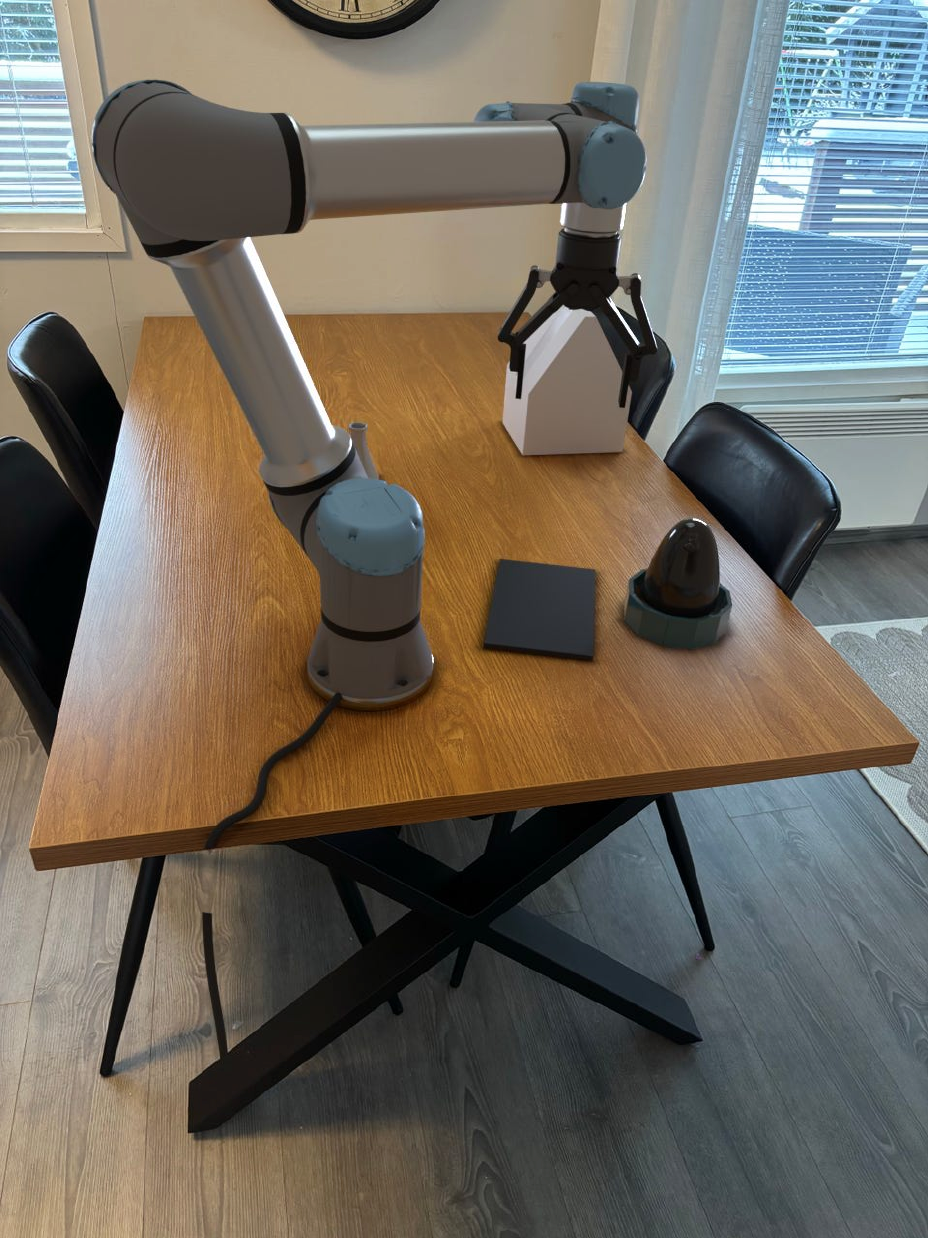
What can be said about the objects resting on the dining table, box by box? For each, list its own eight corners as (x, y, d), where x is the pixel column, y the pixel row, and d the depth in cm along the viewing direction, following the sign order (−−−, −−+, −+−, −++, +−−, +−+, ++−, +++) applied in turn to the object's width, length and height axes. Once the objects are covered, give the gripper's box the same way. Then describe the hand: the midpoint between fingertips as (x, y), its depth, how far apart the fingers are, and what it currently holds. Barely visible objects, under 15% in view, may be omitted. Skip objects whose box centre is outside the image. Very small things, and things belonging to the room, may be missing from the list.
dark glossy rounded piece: (631, 632, 129) (649, 531, 120) (642, 593, 137) (660, 497, 129) (708, 648, 126) (732, 547, 118) (714, 608, 135) (737, 511, 126)
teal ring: (729, 654, 126) (736, 625, 123) (624, 642, 127) (629, 613, 124) (719, 599, 137) (726, 572, 134) (623, 588, 138) (628, 561, 135)
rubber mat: (592, 661, 123) (593, 656, 122) (483, 648, 124) (483, 643, 123) (594, 573, 141) (595, 569, 140) (499, 563, 142) (499, 558, 141)
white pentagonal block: (522, 455, 175) (535, 316, 161) (502, 422, 187) (513, 291, 173) (622, 451, 179) (643, 316, 165) (596, 419, 191) (614, 291, 177)
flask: (373, 493, 159) (373, 436, 153) (331, 487, 160) (329, 430, 154) (384, 475, 164) (385, 419, 159) (344, 469, 165) (343, 414, 160)
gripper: (691, 231, 118) (662, 397, 130) (488, 215, 119) (478, 381, 131) (698, 245, 112) (667, 418, 123) (484, 228, 113) (473, 401, 125)
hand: (569, 399), depth 127 cm, fingers open, 13 cm apart
